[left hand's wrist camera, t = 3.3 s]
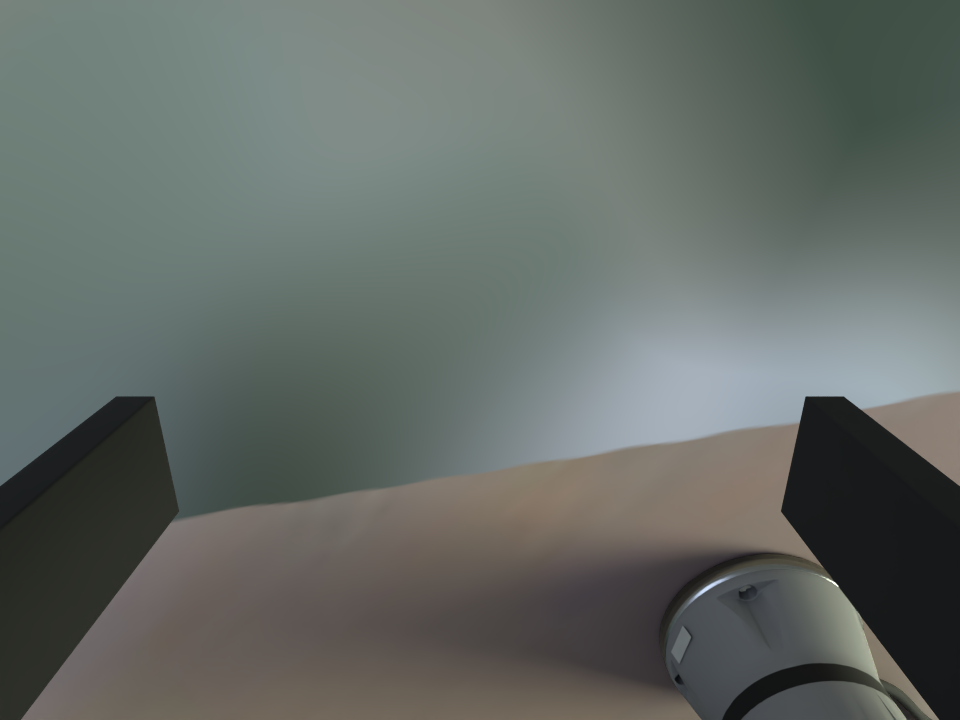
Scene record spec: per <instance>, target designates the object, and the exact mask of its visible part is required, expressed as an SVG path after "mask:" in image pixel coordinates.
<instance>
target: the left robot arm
mask: <svg viewBox="0 0 960 720" xmlns="http://www.w3.org/2000/svg"><path fill="white" fill-rule="evenodd" d="M178 512H179V509H178V504H177V500H176V495H175V490H174V486H173V481H172V476H171V472H170V467H169V463H168V458H167V453H166V449H165V444H164V439H163V435H162V430H161V425H160V421H159V416H158V411H157V407H156V402H155V397H115V398H114V399H113V400H111V401H110V402H109V403H107V404H106V405H105V406H103V407H102V408H101V409H100V410H98V411H97V412H96V413H94V414H93V415H92V416H91V417H89V418H88V419H87V420H85V421H84V422H83V423H82V424H80V425H79V426H78V427H76V428H75V429H74V430H73V431H71V432H70V433H69V434H67V435H66V436H65V437H63V438H62V439H61V440H60V441H58V442H57V443H56V444H54V445H53V446H52V447H51V448H49V449H48V450H47V451H45V452H44V453H43V454H41V455H40V456H39V457H38V458H36V459H35V460H34V461H32V462H31V463H30V464H29V465H27V466H26V467H25V468H23V469H22V470H21V471H20V472H18V473H17V474H16V475H14V476H13V477H12V478H10V479H9V480H8V481H7V482H5V483H4V484H3V485H1V486H0V720H21V719H22V717H23V716H24V715H25V713H26V712H27V711H28V709H29V708H30V707H31V705H32V704H33V703H34V701H35V700H36V699H37V698H38V696H39V695H40V694H41V692H42V691H43V690H44V688H45V687H46V686H47V684H48V683H49V682H50V680H51V679H52V678H53V676H54V675H55V674H56V673H57V671H58V670H59V669H60V667H61V666H62V665H63V663H64V662H65V661H66V659H67V658H68V657H69V655H70V654H71V653H72V651H73V650H74V649H75V648H76V646H77V645H78V644H79V642H80V641H81V640H82V638H83V637H84V636H85V634H86V633H87V632H88V630H89V629H90V628H91V626H92V625H93V624H94V623H95V621H96V620H97V619H98V617H99V616H100V615H101V613H102V612H103V611H104V609H105V608H106V607H107V605H108V604H109V603H110V601H111V600H112V599H113V598H114V596H115V595H116V594H117V592H118V591H119V590H120V588H121V587H122V586H123V584H124V583H125V582H126V580H127V579H128V578H129V576H130V575H131V574H132V573H133V571H134V570H135V569H136V567H137V566H138V565H139V563H140V562H141V561H142V559H143V558H144V557H145V555H146V554H147V553H148V551H149V550H150V549H151V548H152V546H153V545H154V544H155V542H156V541H157V540H158V538H159V537H160V536H161V534H162V533H163V532H164V530H165V529H166V528H167V526H168V525H169V524H170V523H171V521H172V520H173V519H174V517H175V516H176V515H177V513H178ZM781 512H782V513H783V515H784V516H785V517H786V519H787V520H788V521H789V523H790V524H791V525H792V526H793V528H794V529H795V530H796V532H797V533H798V534H799V536H800V537H801V538H802V540H803V541H804V542H805V544H806V545H807V546H808V548H809V549H810V550H811V551H812V553H813V554H814V555H815V557H816V558H817V559H818V561H819V562H820V563H821V565H822V566H823V567H824V568H822V567H820V566H819V565H817V564H815V563H813V562H810V561H808V560H805V559H802V558H799V557H794V556H789V555H782V554H759V555H751V556H745V557H740V558H737V559H733V560H730V561H727V562H724V563H722V564H719V565H717V566H715V567H713V568H711V569H709V570H707V571H705V572H703V573H702V574H700V575H699V576H697V577H696V578H694V579H693V580H692V581H690V582H689V583H688V584H687V585H686V586H685V587H684V588H683V589H682V590H681V591H680V592H679V593H678V594H677V595H676V596H675V598H674V599H673V600H672V602H671V603H670V605H669V607H668V608H667V610H666V612H665V614H664V617H663V620H662V623H661V627H660V635H659V639H660V648H661V652H662V656H663V659H664V662H665V665H666V667H667V670H668V673H669V675H670V678H671V680H672V681H673V683H674V684H675V686H676V687H677V689H678V690H679V691H680V693H681V694H682V695H683V696H684V698H685V699H686V700H687V701H688V702H689V704H690V705H691V707H692V708H693V709H694V710H695V712H696V713H697V714H698V715H699V717H700V718H701V719H702V720H907V719H906V718H905V716H904V715H903V714H902V712H901V711H900V709H899V708H898V707H897V705H896V704H895V703H894V701H893V700H892V698H891V697H890V696H889V694H890V695H891V696H893V697H894V698H895V699H897V700H898V701H899V702H900V703H901V704H902V705H903V706H904V707H905V708H906V709H907V710H908V711H909V713H910V714H911V715H912V716H913V717H914V718H915V719H916V720H931V719H930V718H929V717H927V716H926V715H925V714H924V713H923V712H922V711H921V710H920V709H919V708H918V707H917V706H916V705H915V704H914V702H913V701H912V700H911V699H910V698H909V697H908V696H907V695H906V694H905V693H904V692H902V691H901V690H900V689H898V688H897V687H895V686H894V685H892V684H890V683H888V682H886V681H884V680H881V679H879V677H878V674H877V671H876V668H875V664H874V661H873V658H872V655H871V652H870V649H869V646H868V643H867V640H866V637H865V634H864V630H863V624H862V620H861V617H862V619H863V620H864V621H865V623H866V624H867V625H868V626H869V628H870V629H871V630H872V632H873V633H874V634H875V636H876V637H877V638H878V640H879V641H880V642H881V644H882V645H883V646H884V648H885V649H886V650H887V651H888V653H889V654H890V655H891V657H892V658H893V659H894V661H895V662H896V663H897V665H898V666H899V667H900V669H901V670H902V671H903V673H904V674H905V675H906V676H907V678H908V679H909V680H910V682H911V683H912V684H913V686H914V687H915V688H916V690H917V691H918V692H919V694H920V695H921V696H922V698H923V699H924V700H925V701H926V703H927V704H928V705H929V707H930V708H931V709H932V711H933V712H934V713H935V715H936V716H937V717H938V719H939V720H960V486H959V485H957V484H956V483H955V482H953V481H952V480H951V479H950V478H948V477H947V476H946V475H944V474H943V473H942V472H941V471H939V470H938V469H937V468H935V467H934V466H933V465H931V464H930V463H929V462H928V461H926V460H925V459H924V458H922V457H921V456H920V455H919V454H917V453H916V452H915V451H913V450H912V449H911V448H909V447H908V446H907V445H906V444H904V443H903V442H902V441H900V440H899V439H898V438H897V437H895V436H894V435H893V434H891V433H890V432H889V431H888V430H886V429H885V428H884V427H882V426H881V425H880V424H878V423H877V422H876V421H875V420H873V419H872V418H871V417H869V416H868V415H867V414H866V413H864V412H863V411H862V410H860V409H859V408H858V407H857V406H855V405H854V404H853V403H851V402H850V401H849V400H847V399H846V398H845V397H805V402H804V407H803V411H802V416H801V421H800V425H799V430H798V435H797V439H796V444H795V448H794V453H793V458H792V462H791V467H790V472H789V476H788V481H787V486H786V490H785V495H784V500H783V504H782V509H781ZM860 616H861V617H860Z"/></svg>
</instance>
